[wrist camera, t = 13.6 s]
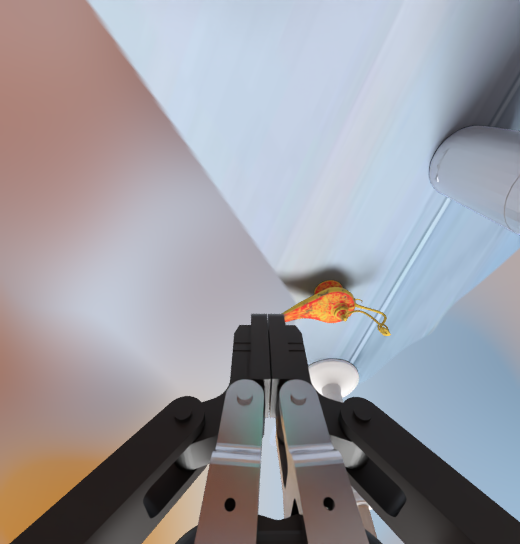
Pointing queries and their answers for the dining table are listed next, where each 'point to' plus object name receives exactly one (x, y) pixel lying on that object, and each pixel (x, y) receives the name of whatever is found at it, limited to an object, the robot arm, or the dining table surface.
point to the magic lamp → (330, 306)
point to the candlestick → (335, 385)
